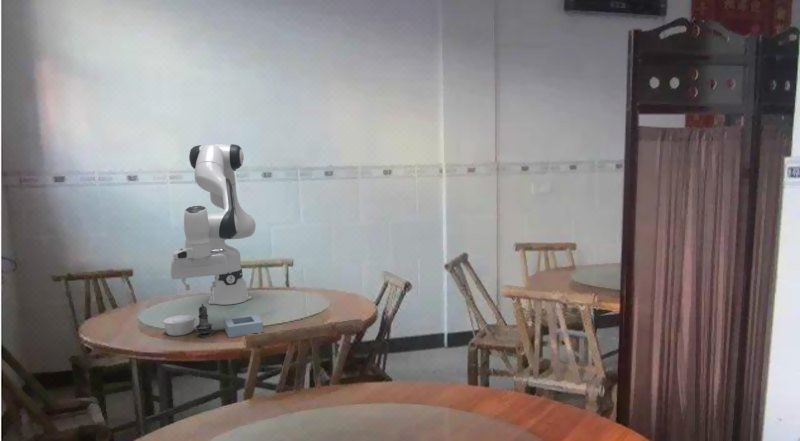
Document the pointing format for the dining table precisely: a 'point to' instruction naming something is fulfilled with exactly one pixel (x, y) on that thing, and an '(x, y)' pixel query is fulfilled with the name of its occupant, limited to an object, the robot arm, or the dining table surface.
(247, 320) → the caddy block
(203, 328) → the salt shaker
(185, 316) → the ramekin
